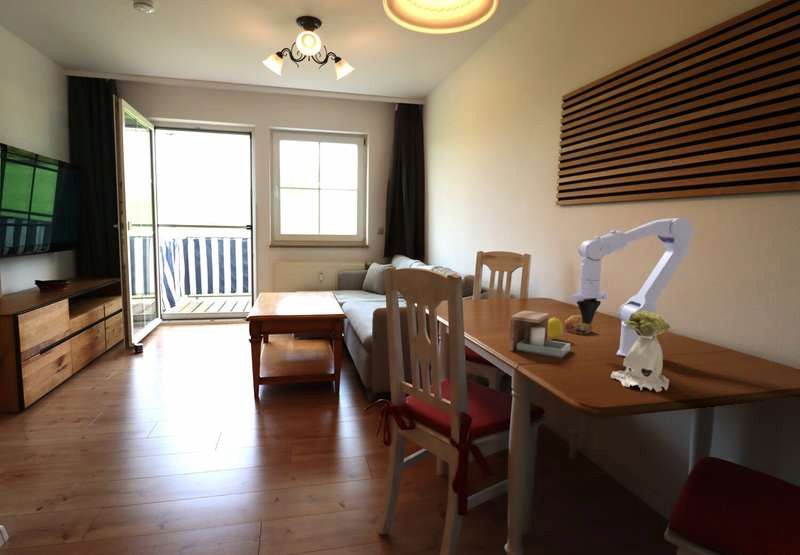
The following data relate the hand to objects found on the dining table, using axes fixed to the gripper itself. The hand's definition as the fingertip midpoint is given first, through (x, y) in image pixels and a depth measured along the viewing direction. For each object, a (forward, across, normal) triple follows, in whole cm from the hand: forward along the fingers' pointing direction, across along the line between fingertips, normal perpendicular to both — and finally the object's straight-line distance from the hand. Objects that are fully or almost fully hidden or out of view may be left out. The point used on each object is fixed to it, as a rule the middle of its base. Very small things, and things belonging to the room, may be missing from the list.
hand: (587, 323), depth 139 cm
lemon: (+10, +6, +17) cm, 21 cm away
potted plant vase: (+10, -10, -24) cm, 28 cm away
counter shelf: (+10, -11, +13) cm, 20 cm away
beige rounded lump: (+9, -10, +11) cm, 17 cm away
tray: (+10, -9, +9) cm, 16 cm away
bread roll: (+10, +25, +22) cm, 35 cm away
